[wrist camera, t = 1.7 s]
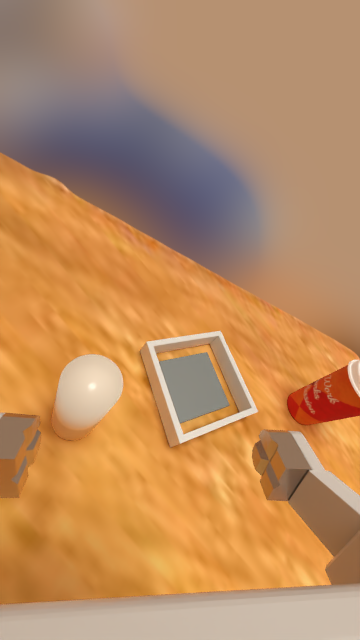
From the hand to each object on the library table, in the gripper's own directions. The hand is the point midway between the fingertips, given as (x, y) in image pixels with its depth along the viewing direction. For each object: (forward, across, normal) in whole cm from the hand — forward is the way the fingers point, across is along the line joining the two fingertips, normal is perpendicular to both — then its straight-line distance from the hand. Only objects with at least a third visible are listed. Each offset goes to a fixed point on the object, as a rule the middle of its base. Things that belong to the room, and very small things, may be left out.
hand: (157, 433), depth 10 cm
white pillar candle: (+16, +6, +17) cm, 24 cm away
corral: (+23, -9, +17) cm, 30 cm away
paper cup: (+25, -30, +22) cm, 44 cm away
